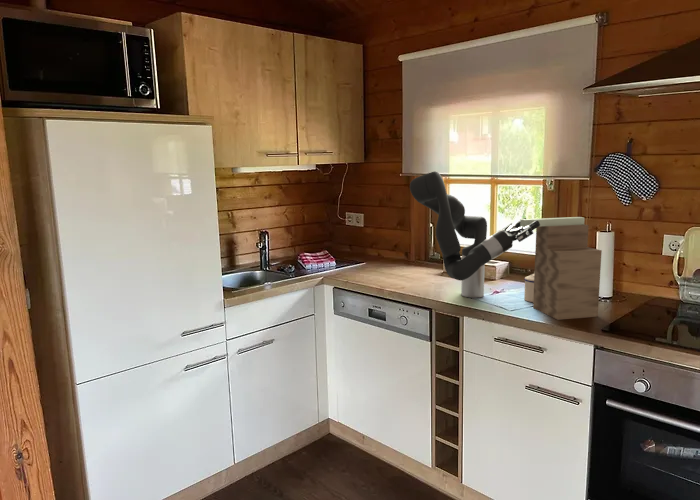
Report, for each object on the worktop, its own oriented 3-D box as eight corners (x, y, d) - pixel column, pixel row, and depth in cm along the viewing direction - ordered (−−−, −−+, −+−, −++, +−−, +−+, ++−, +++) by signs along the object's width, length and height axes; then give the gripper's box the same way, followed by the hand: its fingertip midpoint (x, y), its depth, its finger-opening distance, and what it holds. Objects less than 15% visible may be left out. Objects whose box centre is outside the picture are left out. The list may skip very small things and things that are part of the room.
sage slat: (520, 226, 193) (520, 219, 193) (579, 223, 198) (579, 216, 198) (524, 227, 190) (524, 220, 190) (584, 224, 195) (584, 217, 195)
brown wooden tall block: (533, 307, 202) (536, 224, 197) (570, 305, 205) (575, 222, 200) (557, 319, 187) (561, 229, 182) (597, 316, 190) (603, 227, 185)
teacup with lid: (542, 304, 207) (544, 275, 205) (520, 300, 213) (521, 272, 211) (553, 298, 216) (554, 270, 214) (531, 294, 222) (532, 267, 220)
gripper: (500, 239, 183) (538, 214, 185) (482, 233, 197) (518, 210, 198) (509, 257, 185) (547, 232, 186) (491, 250, 199) (526, 227, 200)
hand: (532, 221), depth 192 cm, fingers open, 8 cm apart
